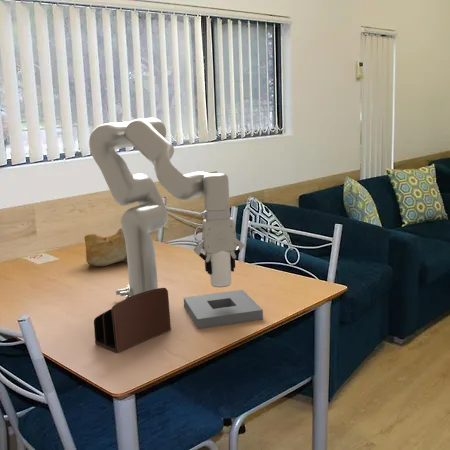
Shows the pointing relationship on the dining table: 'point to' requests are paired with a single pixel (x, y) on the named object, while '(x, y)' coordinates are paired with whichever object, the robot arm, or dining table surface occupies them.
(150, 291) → the letter holder
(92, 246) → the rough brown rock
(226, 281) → the can
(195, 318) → the socket block
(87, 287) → the dining table surface
